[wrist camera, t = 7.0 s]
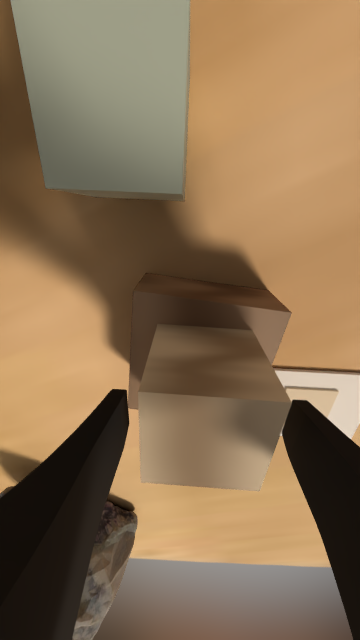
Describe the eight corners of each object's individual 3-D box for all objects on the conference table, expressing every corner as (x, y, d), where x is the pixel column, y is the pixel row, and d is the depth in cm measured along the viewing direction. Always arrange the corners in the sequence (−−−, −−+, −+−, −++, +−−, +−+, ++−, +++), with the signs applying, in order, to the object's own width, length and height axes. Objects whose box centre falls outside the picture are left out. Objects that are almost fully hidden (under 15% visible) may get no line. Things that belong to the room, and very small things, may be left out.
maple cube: (252, 330, 12) (292, 402, 7) (236, 401, 14) (259, 491, 9) (157, 323, 12) (138, 391, 7) (156, 395, 14) (140, 482, 9)
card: (381, 374, 17) (387, 378, 17) (348, 436, 20) (352, 442, 20) (249, 366, 17) (251, 370, 17) (235, 430, 20) (236, 435, 20)
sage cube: (189, 80, 11) (190, -21, 6) (184, 201, 13) (182, 194, 8) (83, 76, 11) (5, -26, 6) (96, 197, 13) (45, 188, 8)
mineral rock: (11, 467, 24) (-97, 622, 15) (101, 451, 22) (41, 615, 13) (70, 528, 29) (17, 670, 20) (147, 518, 27) (127, 669, 18)
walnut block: (266, 288, 15) (291, 312, 11) (237, 382, 18) (249, 423, 15) (147, 271, 15) (133, 290, 11) (140, 369, 18) (127, 408, 14)
